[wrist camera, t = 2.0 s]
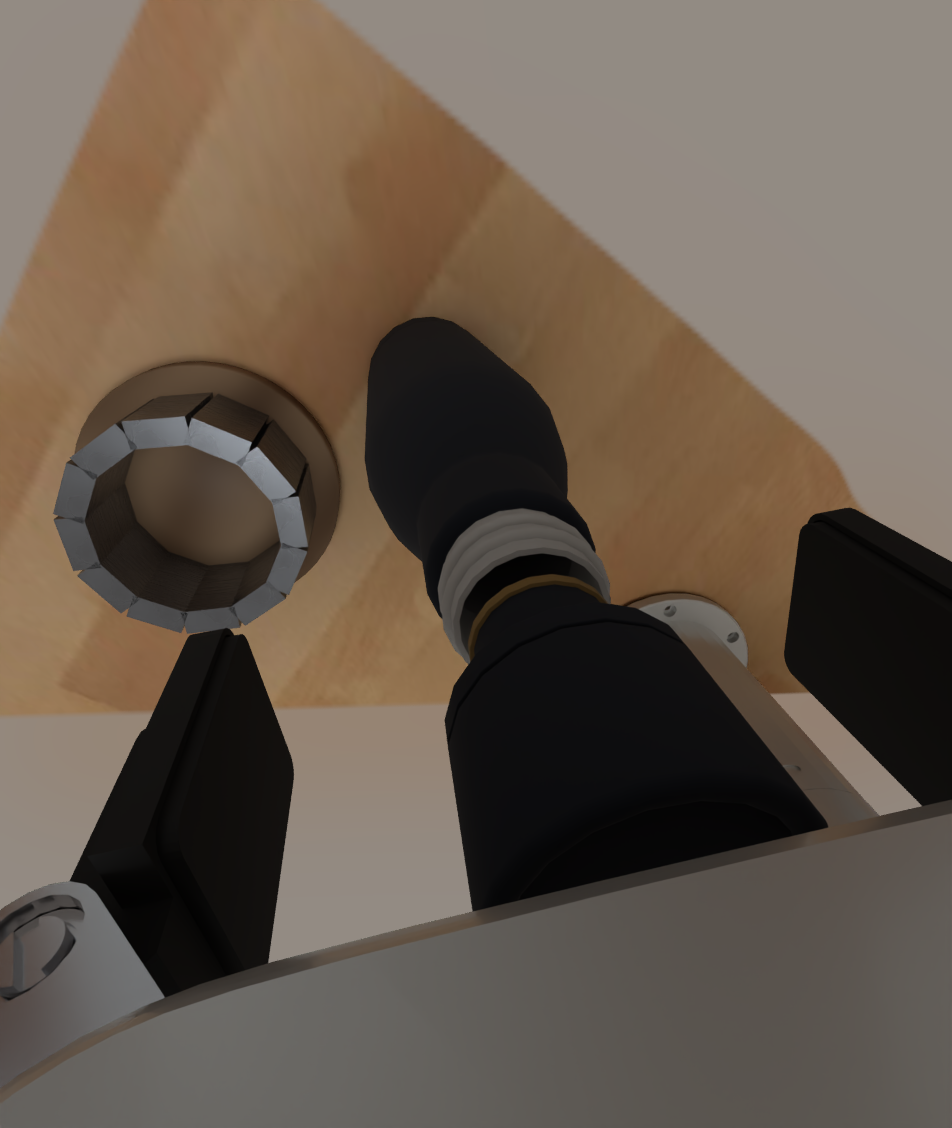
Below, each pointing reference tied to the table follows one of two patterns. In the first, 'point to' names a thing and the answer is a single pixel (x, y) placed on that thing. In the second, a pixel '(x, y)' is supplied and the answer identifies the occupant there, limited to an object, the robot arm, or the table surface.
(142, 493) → the bottle stand
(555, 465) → the black tall rounded piece
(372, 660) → the table surface
